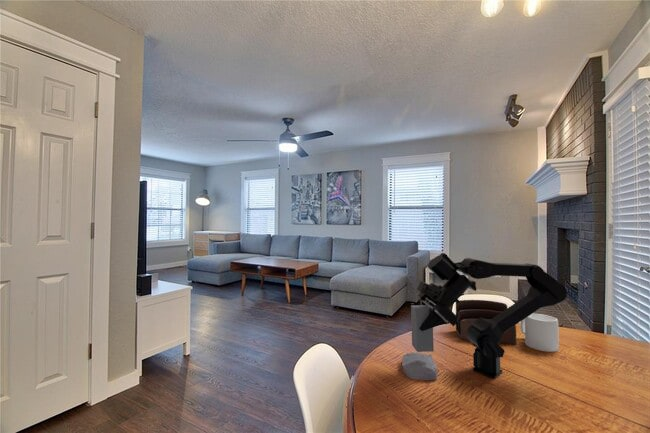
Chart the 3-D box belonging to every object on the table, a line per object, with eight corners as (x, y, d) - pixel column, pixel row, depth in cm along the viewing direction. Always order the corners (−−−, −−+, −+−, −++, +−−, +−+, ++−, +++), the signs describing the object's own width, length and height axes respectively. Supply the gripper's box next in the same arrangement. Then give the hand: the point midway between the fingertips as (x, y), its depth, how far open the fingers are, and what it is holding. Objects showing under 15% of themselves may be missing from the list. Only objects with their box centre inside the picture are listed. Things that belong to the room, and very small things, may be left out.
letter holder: (455, 331, 125) (455, 298, 125) (507, 335, 120) (506, 301, 120) (460, 339, 115) (460, 304, 116) (516, 344, 110) (516, 307, 111)
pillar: (427, 344, 92) (426, 305, 93) (433, 351, 87) (432, 309, 88) (412, 345, 92) (410, 305, 93) (417, 351, 87) (416, 310, 88)
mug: (511, 338, 116) (510, 311, 116) (532, 336, 118) (531, 310, 119) (543, 353, 103) (542, 322, 103) (566, 350, 105) (565, 320, 105)
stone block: (405, 385, 86) (440, 381, 84) (402, 368, 86) (436, 364, 84) (402, 367, 97) (433, 363, 96) (399, 352, 98) (429, 348, 96)
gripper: (422, 268, 100) (391, 301, 99) (445, 277, 81) (407, 318, 81) (446, 290, 100) (415, 323, 99) (474, 305, 81) (436, 346, 81)
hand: (417, 326), depth 90 cm, fingers closed on pillar, 5 cm apart
